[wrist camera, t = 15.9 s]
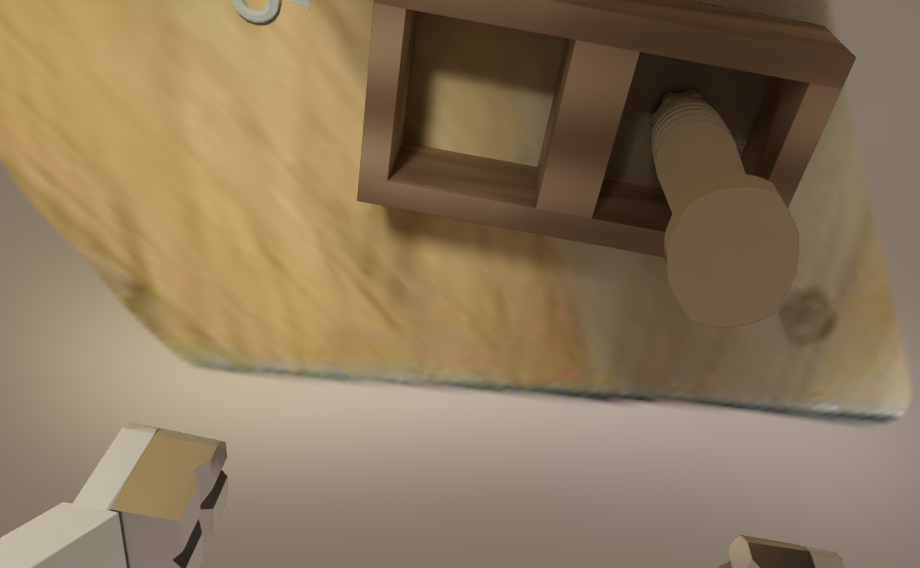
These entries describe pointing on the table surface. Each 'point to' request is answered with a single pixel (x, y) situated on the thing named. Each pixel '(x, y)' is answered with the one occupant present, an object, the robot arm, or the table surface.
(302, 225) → the table surface
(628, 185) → the divided box
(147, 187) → the table surface
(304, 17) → the table surface
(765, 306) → the handle
